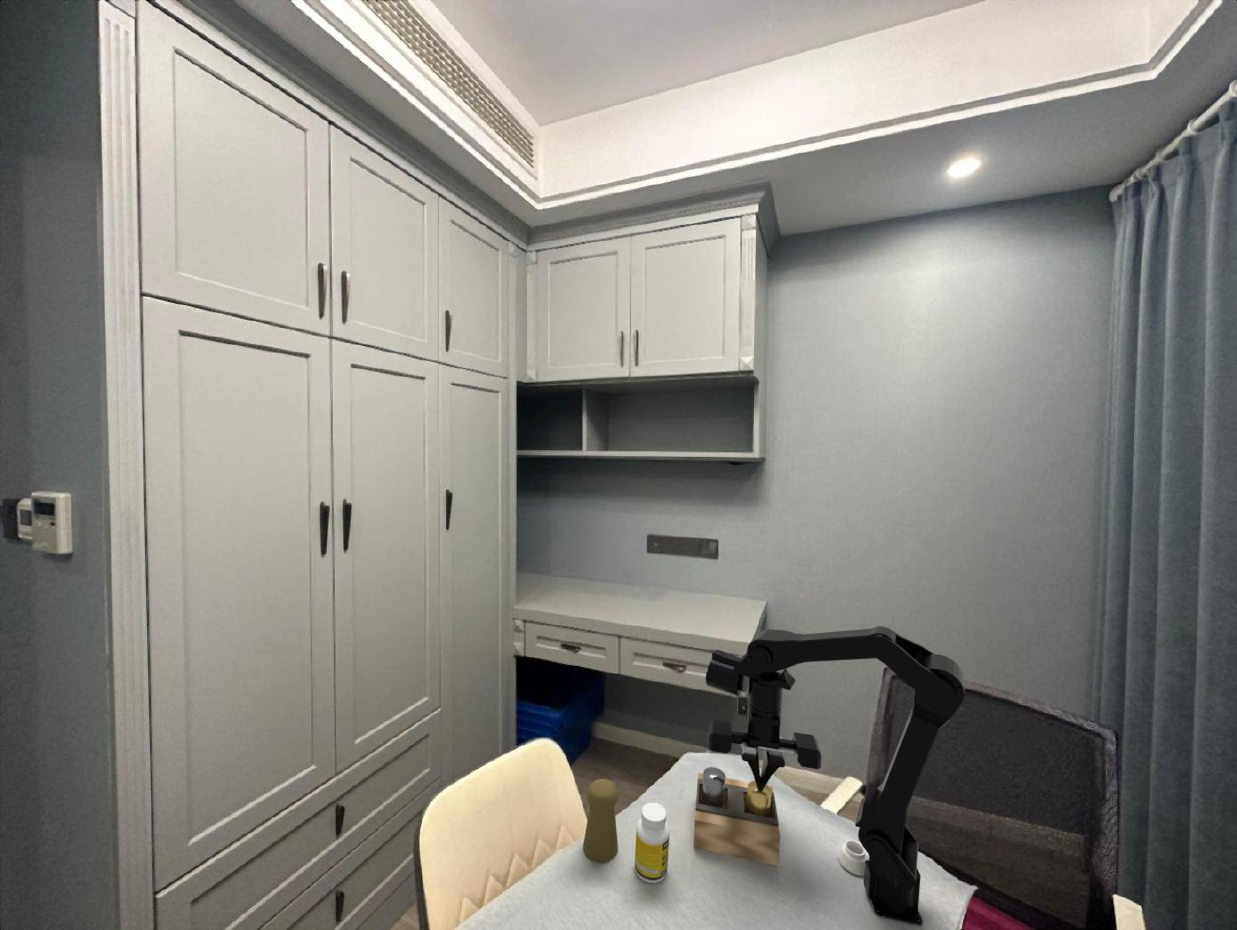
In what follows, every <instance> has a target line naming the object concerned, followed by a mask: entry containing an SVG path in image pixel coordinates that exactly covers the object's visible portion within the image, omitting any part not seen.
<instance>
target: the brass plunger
mask: <svg viewBox="0 0 1237 930" xmlns="http://www.w3.org/2000/svg"><path fill="white" fill-rule="evenodd" d="M749 782H750V783H749V784H748V797H747V813H749V814H754V815H759V816H765V817H770V807H771V789H770V787H769V786H770V785H768V783H767V784H766V786H765V788H764V789H763V791H760V790H758V789H757V785H756V782H755V780H753V781H749Z"/></svg>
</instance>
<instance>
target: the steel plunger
mask: <svg viewBox="0 0 1237 930" xmlns="http://www.w3.org/2000/svg"><path fill="white" fill-rule="evenodd" d="M702 772H703V773H702V774H703V788H702V801H703V803H704V804H705V805H708V806H714V807H719V808H721V807H722V806H723V805H724V798H725V779H726V778H727V775H726V773H725V772H724V771H723V770H722V769H720V768H717V767H713V766H712V767H711V766H710V767H706V768H704V770H703V771H702Z"/></svg>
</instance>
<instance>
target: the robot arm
mask: <svg viewBox="0 0 1237 930" xmlns="http://www.w3.org/2000/svg"><path fill="white" fill-rule="evenodd" d="M746 649H747V650H746V652H745V654H744V655H743V656H741V657H740V656H736V655H733V654H730V653H727V652H725V651H723V650H721V649H715V650H714V651H713V652H712V653H711V659H710V662H709V663H708V667H707V671H706V672H705V683H706V686H707V687H709V688H712V689H715V690H718V691H721V692H724V693H726V694H728V695H732V696H735V697H737V699H736V700H737V704H736V713H737V715H738V716H743V717H745V720H744V723H745V725H744V726H745V727H744V728H745V729H746V730H745V731H746V732H744V731H738V730H732V722H731V721H725V720H718V719H712V720H711V721H710V722H709V727H708V728H709V729H708V733H709V734H708V750H709V751H711V752H714V753H719V754H726V755H727V754H729V752H732V744H736V745H740V753H741V754H740V755H741V760H742V761H743V762H747V764H748V766H749V768H750V770H751V772H752V775H753V779H754V781H755V782H756V785H757V789H758V790H760V791H763V789H764V788H765V786H766V784H767V785H768V783H769V780H770V779H771V778H772V777H773V775H774V774H775V773H776V772H777V770H779V768H782V769H783V768H785V767H786V761H785V756H786V754H791V755H796V761H797V762H798V763H797V764H799V765H800V767H802V768H807V769H813V770H819V769H821V768H822V753H821V752H822V751H821V748H820V746H819V743H818V741H817V738H816V736H814V735H813V734H807V733H802V732H795V731H793V732H792V734H791V735H792V737H791V739H786V738H783V737H782V736H781V723H782V708H783V707H782V706H783V705H782V704H783V693H784V692H783V690H786V691H791V689H793V687H794V685H795V684H796V682H797V681H796V679H795V678H794V676H792V674H791V673H790V672H789V671H788V669H789V668H792V667H794V666H797V665H801V664H803V663H813V662H815V663H816V662H833V661H834V662H835V661H850V660H851V661H852V660H855V661H856V660H869V659H870V660H871V659H872V660H873V659H874V660H878V661H880V662H881V663H883V664H884V665H886V666H887V668H889V669H890V670H891V671H892V672H893V673H894V674H895V675H896V676H897V677H898V678H899V679H900V680H901V681H902V682H903V683H905V684H906V685H908V686H909V687H910V688H912V689H913V690H914V694H913V701H912V708H911V710H910V714H909V716H908V717H907V720H906V723H905V726H904V728H903V731H902V734H901V737H900V738H899V741H898V744H897V745H896V749H895V751H894V754H893V756H892V759H891V762H890V765H889V767H888V769H887V772H886V774H885V777H884V780H883V782H882V783H881V784H879V786H875V785H874V784H873V783H871V782H870V781H869V782H867V787H866V791H865V796H863V798H861V799H860V803H859V808H858V811H857V816H856V820H855V823H854V825H855V827H856V828H858V833H857V837H858V841H859V843H860V844H861V845H862V846H863V848H864V849H865V852H866V854H867V855H868V858H869V860H866V861H865V871H864V876H863V886H864V889H865V892H866V894H867V895H866V896H867V898H868V899H869V900H870V903H871V906H872V908H873V912H874V914H875V915H876V916H878V917H883V918H886V919H891V920H895V921H900V922H904V923H909V924H913V925H916V926H917V925H918V926H923V924H924V921H923V918H922V916H921V914H920V913H921V912H920V911H919V905H920V903H919V901H920V891H921V890H920V889H921V877H922V876H921V873H920V871H919V868H918V856H919V844H920V843H919V840H918V839H917V838H916V836H915V835H914V834H913V833H912V831H911V830H910V829H909V827H908V826H907V825H906V820H907V812H908V808H909V806H910V804H911V801H912V798H913V796H914V793H915V791H916V789H917V785H918V784H919V781H920V778H921V776H922V774H923V771H924V769H925V766H926V763H927V761H928V759H929V756H930V754H931V751H932V749H933V746H934V744H935V741H936V739H937V736H938V734H939V732H940V731H941V729H942V728H944V726H946V725H947V724H948V723H949V722H950V721H951V720H952V719H953V718H954V716H955V715H956V713H957V712H958V711H959V709H960V707H961V706H962V705H963V703H964V702H965V696H966V692H965V682H964V680H965V679H964V678H965V677H964V673H963V671H962V669H961V667H960V665H958V663H957V662H955V660H953V659H952V658H950V657H948V656H946V655H942V654H936V653H934V652H933V651H931V650H930V649H928V648H926V647H925V646H923V645H921V644H919V643H917V642H915V641H913V640H910V639H908V638H906V637H904V636H902V635H900V634H898V633H897V632H896V631H894V630H892V629H890V628H889V627H888V626H887V627H886V626H884V625H883V626H881V625H879V626H874V627H871V628H863V629H853V630H852V629H851V630H850V629H848V630H840V631H839V630H836V631H829V632H828V631H827V632H818V633H817V632H814V633H805V634H803V633H795V632H792V631H789V630H784V629H783V630H781V629H768V628H767V629H764V630H762V631H761V632H759V633H758V635H757V636H755V637H754V639H752V640H751V642H749V644H748V645H747V648H746ZM747 691H748V696H743V695H741V693H745V692H747ZM759 749H761V750H762V749H763V750H764V751H763V758H762V764H761V765H762V766H761V770H760V759H759Z"/></svg>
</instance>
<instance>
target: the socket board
mask: <svg viewBox="0 0 1237 930" xmlns="http://www.w3.org/2000/svg"><path fill="white" fill-rule="evenodd" d="M750 782H751V781H744V780H741V779H740V780H738V779H733V778H728V777H726V779H725V798H724V805H723V806H722V807H721V808H719V807H714V806H708V805H705V804H704V803H703V801H702V788H703V773H701V772H698V773H697V784H696V785H697V786H696V796H695V813H694V828H693V829H694V831H693V849H696V850H697V849H698V850H702V851H708V852H710V853H711V852H712V853H716V854H721V855H726V856H730V857H735V858H740V859H742V860H743V859H745V860H748V861H754V862H756V863H757V862H758V863H763V864H768V865H772V866H776V867H779V866H780V864H779V863H780V847H781V833H780V825H779V817H778V811H777V803H776V797H775V792H774V787H773V786H771V785H768V786H769V787H770V789H771V807H770V817H765V816H759V815H754V814H749V813H747V797H748V784H749V783H750Z"/></svg>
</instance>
